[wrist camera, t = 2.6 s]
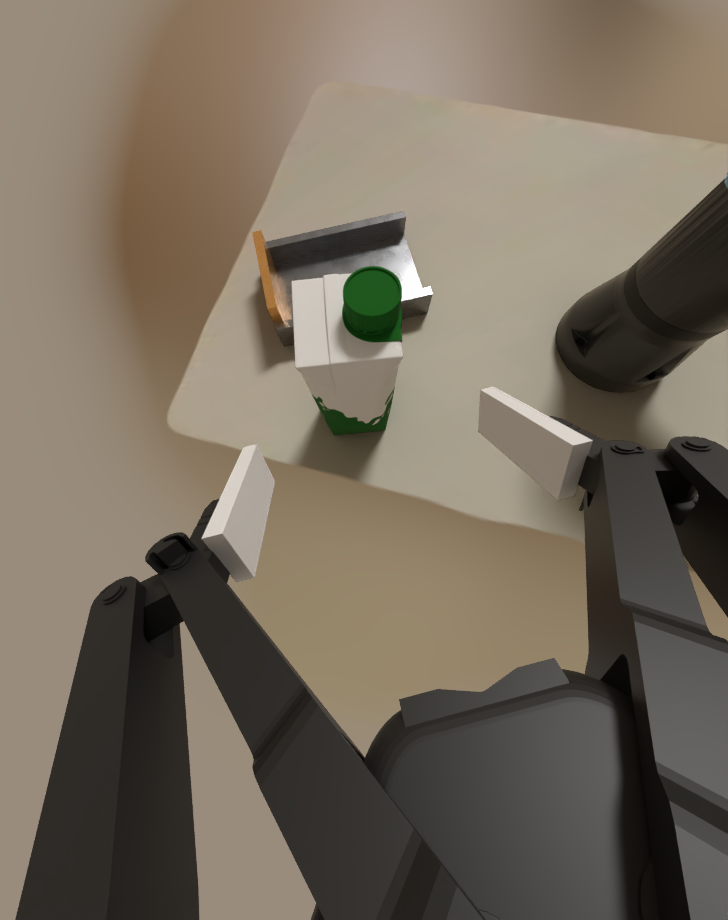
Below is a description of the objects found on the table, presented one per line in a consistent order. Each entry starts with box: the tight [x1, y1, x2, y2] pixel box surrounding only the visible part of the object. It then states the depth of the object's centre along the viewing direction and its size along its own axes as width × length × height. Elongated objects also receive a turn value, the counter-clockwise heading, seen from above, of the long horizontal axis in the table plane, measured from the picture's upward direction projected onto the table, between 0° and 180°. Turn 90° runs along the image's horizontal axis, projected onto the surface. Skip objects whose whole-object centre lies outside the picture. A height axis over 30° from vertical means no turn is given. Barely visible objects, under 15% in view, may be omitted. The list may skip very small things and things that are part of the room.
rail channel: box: [252, 211, 432, 346], centre depth 38 cm, size 22×15×6 cm
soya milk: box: [292, 266, 403, 435], centre depth 28 cm, size 9×9×20 cm
